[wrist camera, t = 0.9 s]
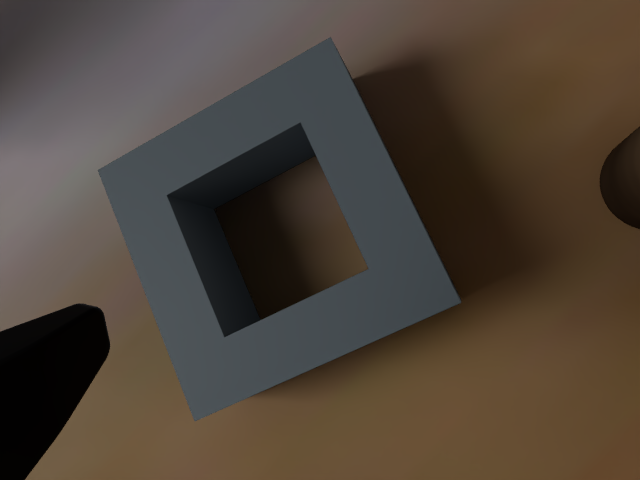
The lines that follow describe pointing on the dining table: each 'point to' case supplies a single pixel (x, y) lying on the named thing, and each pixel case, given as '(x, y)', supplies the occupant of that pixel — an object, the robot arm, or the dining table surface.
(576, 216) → the dining table surface
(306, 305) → the hole block
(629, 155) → the tall walnut pin
